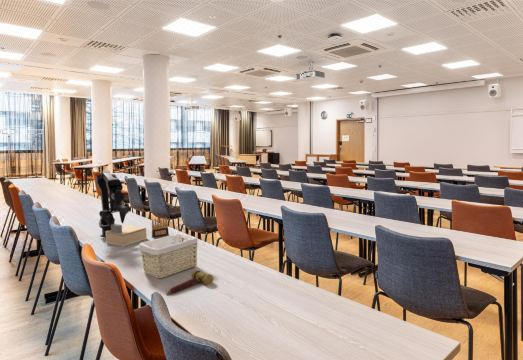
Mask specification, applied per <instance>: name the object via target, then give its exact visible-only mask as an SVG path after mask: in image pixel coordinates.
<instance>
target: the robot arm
mask: <svg viewBox="0 0 523 360" xmlns="http://www.w3.org/2000/svg"><path fill="white" fill-rule="evenodd" d="M95 185H96V186H97V188H98V189H99V190H100V192H99V193H100V201H101V209H102V210H100V211H99V218H100V219H99V220H98V221H99V222H98V227H99V228H100V229H101V233H102V234H100V237H102V238H103V237H105V238H106V234H105V232H106V231H109V230H111V225H113V224H116V223H115V220H116V219H115V217H114V213H119V217H120V222H121V224H124V221H125V218H126V216H127V214H128V213H129V212H131V207H130V204H129V202H127V203H122V201H123V200H125V199H124V198H125V195H124V193H123V192H122V191H123V184H122V181H121V180H120V179H119V178H118V177H113V175H112V174H111V173H110V171H107V170H105V171H101V172H100V173H99V174H98V175H97V176H96V177H95Z"/></svg>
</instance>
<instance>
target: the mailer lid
mask: <svg viewBox="0 0 523 360" xmlns="http://www.w3.org/2000/svg"><path fill="white" fill-rule="evenodd" d="M144 229H146V230H147V228H146V226H145V227H144V226H138V225H137V226H135V225H130V224H128V225H125V226H122V224H119V223H118V224H117V223H114V224H113V225H111V230H109V231H106V232H105V233H110V234H116V235H122V236H124V235H127V234H130V233H134V232H137V231H141V230H144Z"/></svg>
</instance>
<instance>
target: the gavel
mask: <svg viewBox="0 0 523 360" xmlns="http://www.w3.org/2000/svg"><path fill="white" fill-rule="evenodd" d="M190 277H191V279H189V280H186V281H183V282H182V283H180V284H177V285H175V286H173V287H171V288H170V289H169V290H167V292H165V294H166V295H171V294H172V293H174V294H176V293H178V292H181V291H183V290H186V289H188V288H189V287H191V286H194V285H196V284H197V283H199V282H200V283H203V284H204V285H206V286H209V285H211V284H212V283H214V276H213V274H210V273H205V272H202V271H200V270H198V269H194V270H193V271H192V272H191V276H190ZM172 295H173V294H172Z"/></svg>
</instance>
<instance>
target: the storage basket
mask: <svg viewBox="0 0 523 360" xmlns="http://www.w3.org/2000/svg"><path fill="white" fill-rule="evenodd" d="M198 243H199V242H198V238H197V237H195V236H192V235H191V236H190V235H188V234H184V233H179V232H178V233H176V234H171V235H170V234H169V235H167V236H162V237H158V238H154V239H151V240H147V241H143V242H139V245H138V247H139V248H138V249H139V251H140V256H141V260H142V266H143V272H144V273H145V274H147V275H150V276H152V277H154V278H156V279H163V278H164V277H165V278H167V277H169V276H172V275H175V274H178V273H180V272H184V271H186V270H189V269H191V268H195V267H197V265H198ZM165 278H164V279H165Z"/></svg>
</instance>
